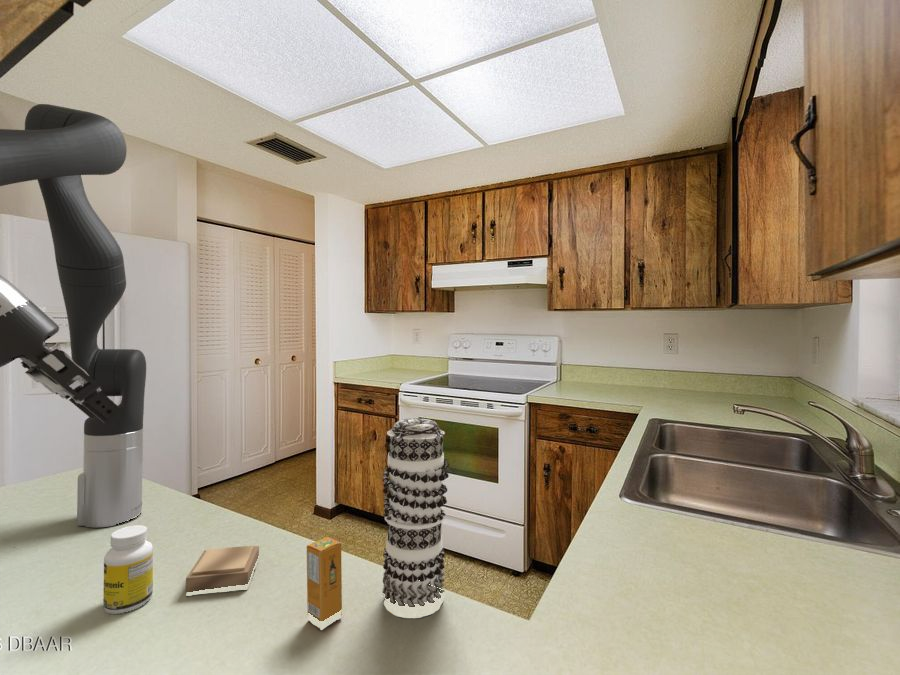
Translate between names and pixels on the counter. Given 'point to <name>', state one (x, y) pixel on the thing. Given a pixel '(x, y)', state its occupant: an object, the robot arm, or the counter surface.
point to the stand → (222, 568)
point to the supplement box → (324, 578)
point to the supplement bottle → (128, 570)
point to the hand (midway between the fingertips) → (107, 415)
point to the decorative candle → (414, 512)
